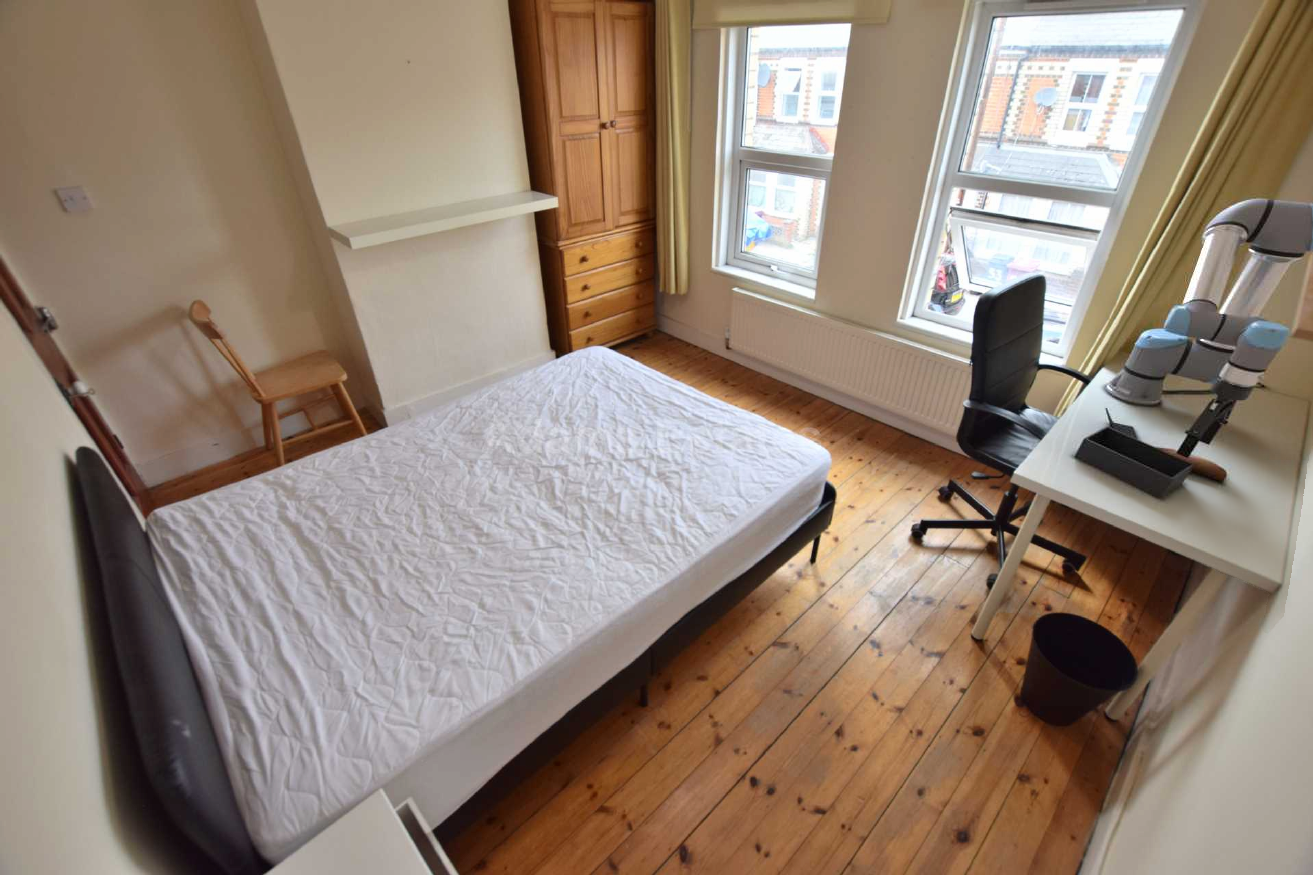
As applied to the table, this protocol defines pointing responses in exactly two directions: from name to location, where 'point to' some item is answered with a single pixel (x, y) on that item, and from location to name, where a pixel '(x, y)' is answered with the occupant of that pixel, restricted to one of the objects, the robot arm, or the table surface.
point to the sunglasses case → (1201, 465)
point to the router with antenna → (1121, 427)
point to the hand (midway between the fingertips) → (1192, 448)
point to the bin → (1134, 461)
